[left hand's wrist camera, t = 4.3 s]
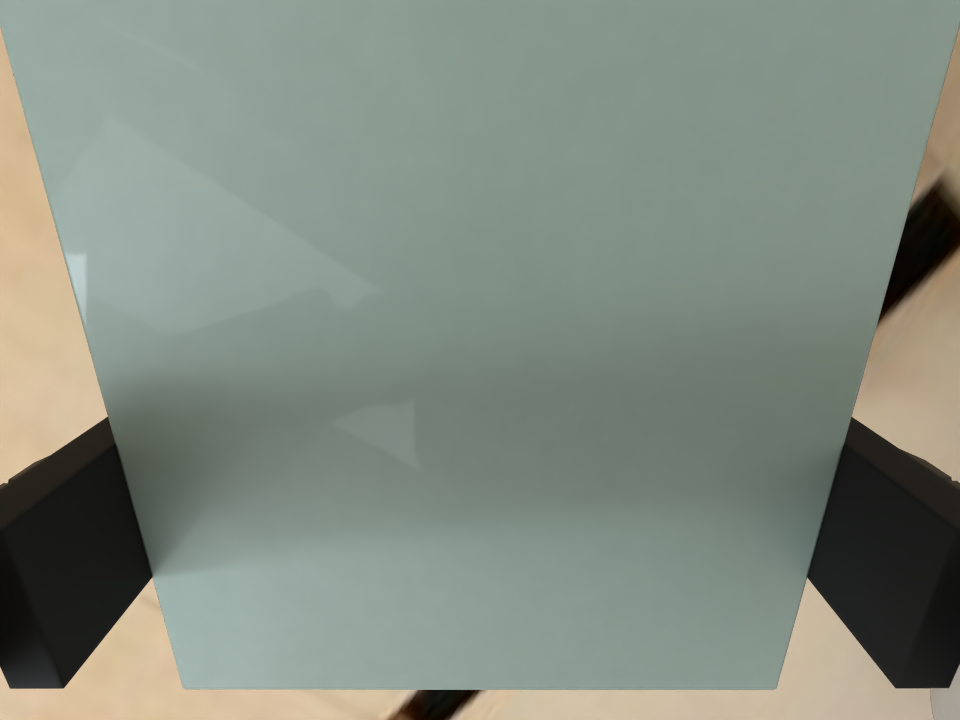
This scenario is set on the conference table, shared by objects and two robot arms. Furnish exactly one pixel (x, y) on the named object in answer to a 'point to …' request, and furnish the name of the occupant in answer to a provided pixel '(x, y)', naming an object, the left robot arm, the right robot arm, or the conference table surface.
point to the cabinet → (479, 316)
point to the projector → (946, 700)
